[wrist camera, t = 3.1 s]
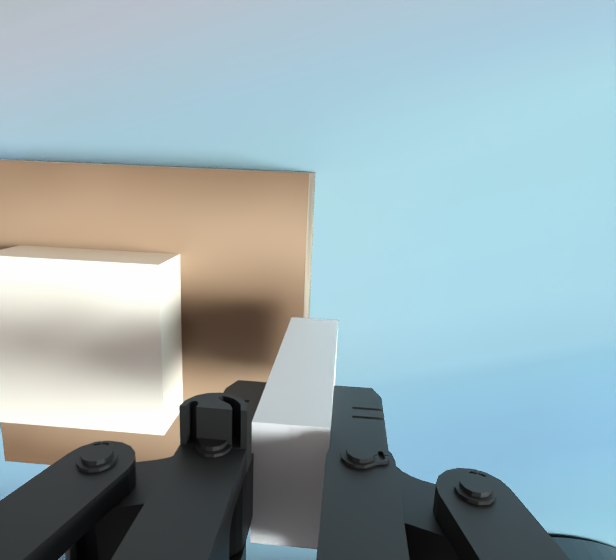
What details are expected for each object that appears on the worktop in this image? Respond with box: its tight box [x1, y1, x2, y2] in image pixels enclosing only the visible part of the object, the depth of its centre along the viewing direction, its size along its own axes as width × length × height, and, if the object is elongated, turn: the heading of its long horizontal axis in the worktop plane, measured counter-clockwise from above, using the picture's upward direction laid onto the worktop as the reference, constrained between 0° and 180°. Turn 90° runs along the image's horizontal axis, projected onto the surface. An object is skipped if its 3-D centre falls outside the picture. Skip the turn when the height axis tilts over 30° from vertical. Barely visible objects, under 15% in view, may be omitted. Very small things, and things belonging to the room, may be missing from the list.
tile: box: [0, 245, 183, 435], centre depth 17 cm, size 6×6×2 cm
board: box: [0, 160, 315, 465], centre depth 20 cm, size 12×12×3 cm
